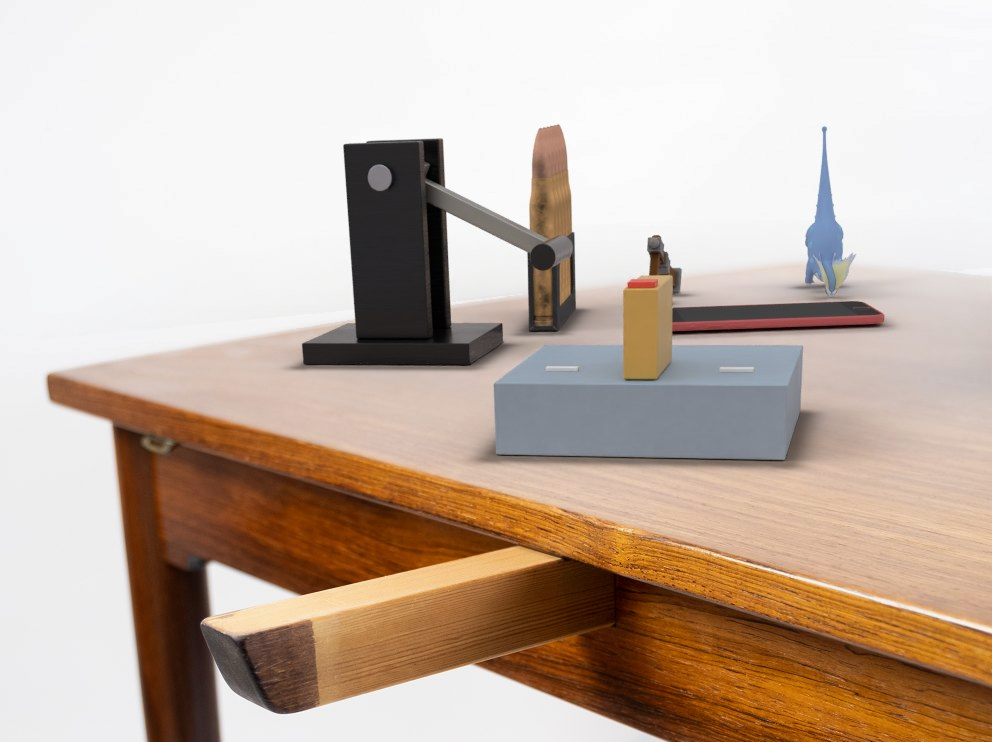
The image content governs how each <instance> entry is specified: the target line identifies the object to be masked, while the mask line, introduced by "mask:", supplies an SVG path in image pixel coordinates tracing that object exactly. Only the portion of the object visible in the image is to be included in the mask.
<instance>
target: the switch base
mask: <svg viewBox="0 0 992 742" xmlns="http://www.w3.org/2000/svg"><path fill="white" fill-rule="evenodd" d="M803 356H804V345H803V344H672V360H671V362H670V363H669V364H668V366H667V367H666V368H665V369H664V371H663V372H662V373H661V374H660V376H659V377H658V378H657V379H656V380H652V379H624V378H623V344H544V345H543V346H542V347H540V348H539V349H537V350H536V351H535V352H534V353H533V354H531V355H530V356H528V357H527V358H526V359H524V360H523V361H522V362H520V363H519V364H518V365H516V366H515V367H513V368H512V369H511V370H509V371H508V372H507V373H505V374H504V375H502V377H500V378H499V379H497V380H496V381H495V382H494V383H493V404H494V409H493V410H494V436H495V454H496V455H502V456H505V455H506V456H508V455H509V456H550V457H551V456H555V457H601V458H602V457H603V458H604V457H605V458H607V457H608V458H609V457H611V458H651V459H652V458H654V459H655V458H658V459H706V460H707V459H709V460H756V461H757V460H761V461H762V460H763V461H785V460H786V457H787V454H788V451H789V448H790V445H791V442H792V439H793V435H794V433H795V429H796V426H797V423H798V420H799V416H800V414H801V407H802V405H801V404H802V385H803V383H802V382H803V362H804V361H803V360H804V357H803Z"/></svg>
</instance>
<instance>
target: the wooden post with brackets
mask: <svg viewBox="0 0 992 742" xmlns="http://www.w3.org/2000/svg"><path fill="white" fill-rule="evenodd" d="M646 243H647V244H646V245H647V246H646V251H647V253H648V255H649V271H648V276H653V275H671V276H673V294H680V293H681V287H682V273H683V268H681V267H672V265H671V259H670V257H669V252H668V251H665V244H664V242H663V239H662V236H661V235H660V234H654V235H652V236H650V237H647V242H646Z"/></svg>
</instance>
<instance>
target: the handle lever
mask: <svg viewBox="0 0 992 742" xmlns="http://www.w3.org/2000/svg"><path fill="white" fill-rule="evenodd" d="M424 167H425V177H426V175H427V172H428V170H429V167H430V164H429V163H427V162H425V161H424ZM425 187H426V202H428V203H430V204H432V205H434V206H436V207H438V208H440V209H442V210H444V211H446V213H448V214H450V215H452V216H453V217H455V218H457V219H459V220H461V221H463V222H466V223H468V224H470V225H472V226H474V227H476V228H477V229H480V230H482V231H484V232H486V233H488V234H490V235H492V236H494V237H496V238H498V239H500V240H501V241H504V242H506V243H507V244H510V245H512V246H514V247H516V248H518V249H519V250H521V251H522V250H523V251H524V252H525V253H527V252H528V253H530V261H531V263H532V265H533V266H534V267H535V268H536V269H538V270H540V271H545V270H548V269H550V268H552V267H554V266H556V265H558V264H559V263H561V262H563V261H565V260H567V259H568V258H569V257H570V256H571V254H572V252H573V245H572V242H571V240H570V239H569V238H568V237H566V236H563V235H558V236H556V237H553V238H551V239H548V238H545V237H543V236H541V235H539V234H537V233H535V232H533V231H531V230H530V228H527V227H525V226H523V225H522V224H520V223H518V222H515V221H514V220H512V219H509V218H507V217H505V216H503V215H501V214H499V213H497V212H495V211H493V210H491V209H490V208H487V207H485V206H483V205H481V204H479V203H477V202H475V201H473V200H471V199H469V198H467V197H465V196H463V195H461V194H459V193H457V192H455V191H453V190H451V189H450V188H448V187H446V186H445V187H443V186H441V185H439V184H437V183H435V182H433V181H431V180H429V179H427V178H425Z"/></svg>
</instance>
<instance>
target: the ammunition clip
mask: <svg viewBox="0 0 992 742" xmlns="http://www.w3.org/2000/svg"><path fill="white" fill-rule="evenodd" d="M531 157H532V159H531V185H530V186H531V187H530V188H531V189H530V191H531V192H530V197H529V204H528V205H529V208H528V209H529V211H528V212H529V213H528V214H529V230H531V231H533V232H535V233H537V234H539V235H541V236H543V237H545V238H548V239H551V238H553V237H556V236H558V235H563V236H566V237H568V238H569V239H570V240H571V242H572V245H573V252H572V254H571V256H570V257H569V258H568V259H567V260H565V261H563V262H561V263H559V264H558V265H556V266H554V267H552V268H550V269H548V270H545V271H540V270H538V269H536V268H535V267H534V266H533V265H532V263H531V261H530V253H528V252H526V253H527V257H526V258H527V291H528V292H527V301H528V303H527V304H528V306H527V307H528V332H556V331H559V330H560V329H561V327H562V326H563V325H564V324H565V322H566V321H567V320H568V319H569V318H570V316H571V315H572V314H573V313H574V312H575V310H576V309H577V301H576V299H577V298H576V297H577V296H576V247H575V246H576V241H575V240H576V239H575V237H576V236H575V235H576V234H575V232H574V231H573V215H572V214H573V213H572V212H573V210H572V208H573V207H572V190H571V186H570V176H569V169H568V168H569V165H568V151H567V144H566V139H565V135H564V132H563V129H562V127H561V125H560V124H553V125H550V126H546V127H539V128H538V130H537V132H536V135H535V139H534V143H533V149H532V156H531Z"/></svg>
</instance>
